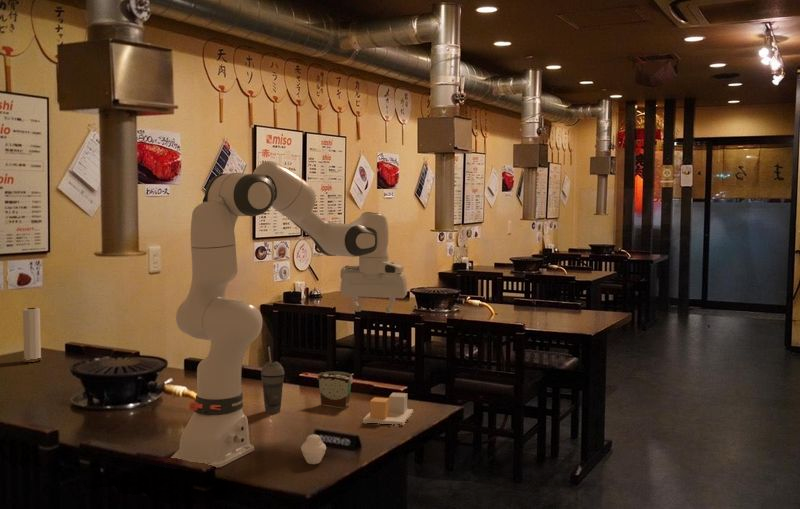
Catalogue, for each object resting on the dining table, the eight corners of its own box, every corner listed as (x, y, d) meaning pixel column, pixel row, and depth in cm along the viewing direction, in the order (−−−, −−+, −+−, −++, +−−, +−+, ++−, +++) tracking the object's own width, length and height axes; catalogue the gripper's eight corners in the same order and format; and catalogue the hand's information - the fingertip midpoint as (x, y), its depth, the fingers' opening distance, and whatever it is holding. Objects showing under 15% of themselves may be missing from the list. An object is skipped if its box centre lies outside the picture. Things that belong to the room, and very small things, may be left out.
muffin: (327, 458, 189) (327, 430, 189) (324, 466, 183) (324, 438, 182) (303, 457, 189) (303, 430, 189) (298, 466, 183) (298, 437, 183)
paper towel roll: (32, 359, 304) (31, 307, 303) (44, 360, 302) (43, 307, 301) (18, 363, 297) (16, 309, 296) (30, 364, 296) (29, 310, 294)
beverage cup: (279, 415, 227) (279, 349, 225) (256, 414, 228) (256, 348, 227) (288, 409, 234) (288, 345, 232) (266, 407, 235) (265, 344, 234)
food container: (360, 404, 240) (360, 373, 239) (350, 409, 234) (350, 377, 234) (327, 400, 245) (327, 369, 245) (317, 404, 240) (317, 373, 239)
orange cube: (389, 414, 224) (389, 398, 224) (385, 419, 220) (385, 402, 219) (374, 413, 225) (374, 397, 225) (370, 417, 221) (370, 401, 220)
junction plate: (403, 426, 217) (403, 404, 217) (363, 423, 220) (363, 402, 219) (413, 413, 231) (413, 393, 230) (375, 410, 233) (375, 390, 233)
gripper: (337, 266, 227) (337, 311, 227) (404, 268, 222) (403, 314, 223) (343, 264, 233) (343, 309, 234) (408, 266, 228) (408, 311, 229)
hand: (373, 311), depth 228 cm, fingers open, 8 cm apart
